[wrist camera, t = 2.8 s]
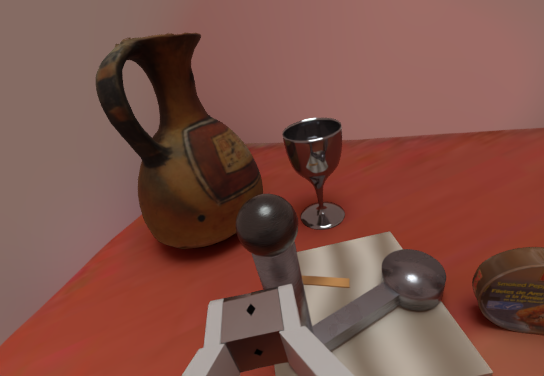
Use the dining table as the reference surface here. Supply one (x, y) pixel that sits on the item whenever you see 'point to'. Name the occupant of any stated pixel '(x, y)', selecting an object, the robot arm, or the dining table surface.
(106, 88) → the ceramic pitcher
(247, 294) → the robot arm
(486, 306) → the tin
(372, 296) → the lever
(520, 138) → the dining table surface
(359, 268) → the beige square panel
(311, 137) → the silver goblet
